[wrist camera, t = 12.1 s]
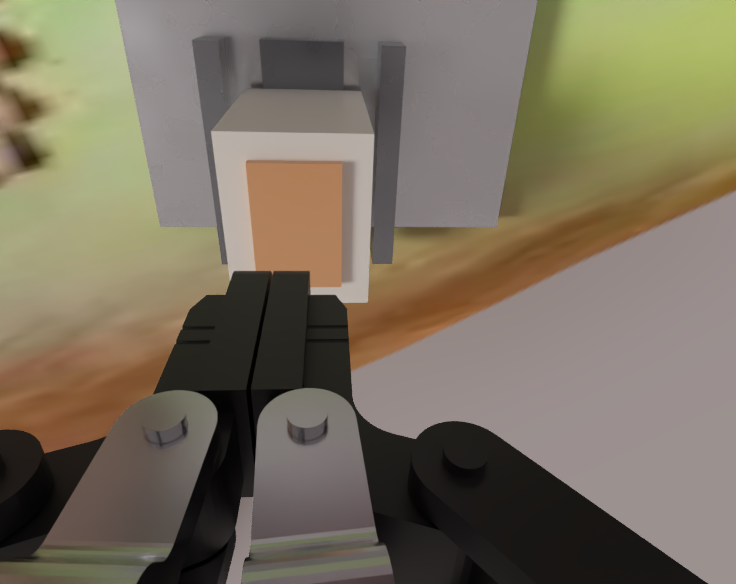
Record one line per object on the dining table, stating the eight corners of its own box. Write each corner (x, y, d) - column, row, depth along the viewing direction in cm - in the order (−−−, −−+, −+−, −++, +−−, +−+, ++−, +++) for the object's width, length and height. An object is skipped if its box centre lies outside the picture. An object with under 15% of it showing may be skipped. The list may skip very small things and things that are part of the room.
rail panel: (111, -75, 16) (80, -83, 14) (536, -55, 17) (565, -61, 15) (171, 238, 22) (154, 264, 20) (486, 238, 23) (502, 263, 21)
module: (245, 87, 17) (208, 133, 12) (360, 91, 18) (374, 136, 12) (257, 221, 20) (231, 308, 15) (357, 222, 20) (368, 307, 15)
